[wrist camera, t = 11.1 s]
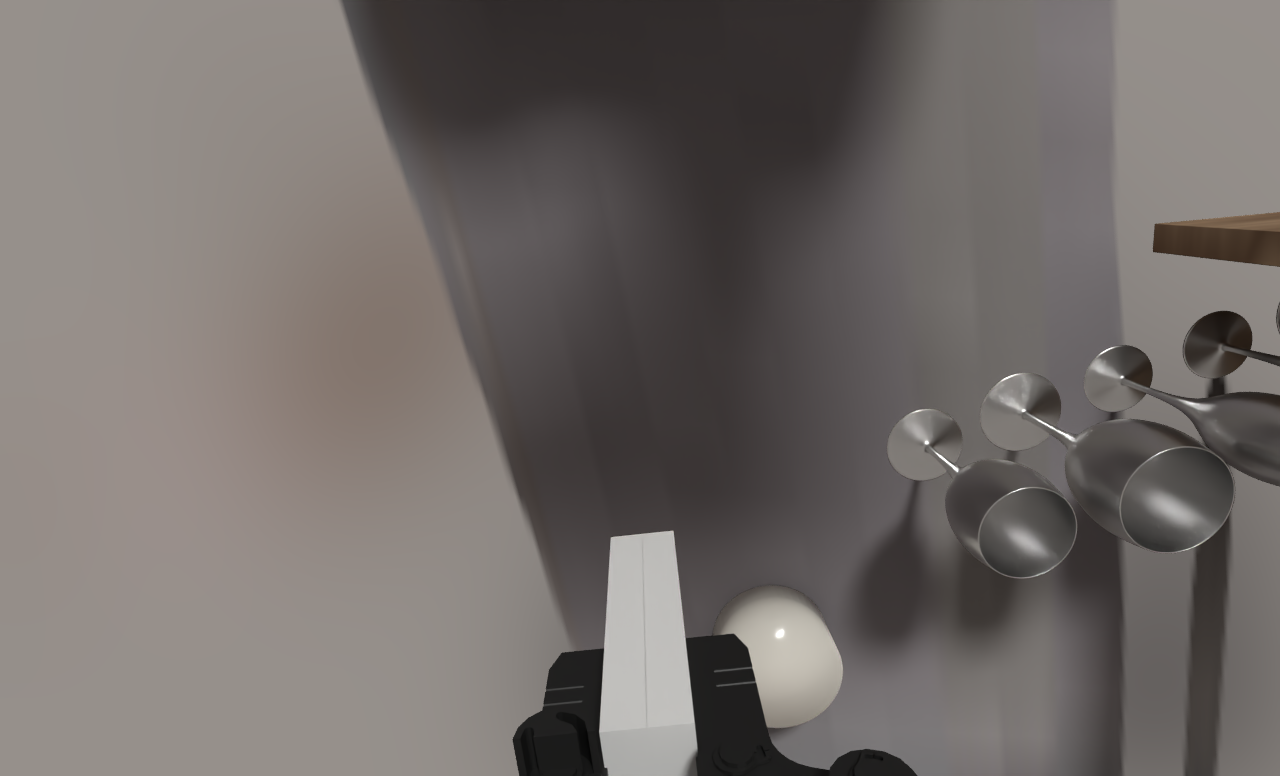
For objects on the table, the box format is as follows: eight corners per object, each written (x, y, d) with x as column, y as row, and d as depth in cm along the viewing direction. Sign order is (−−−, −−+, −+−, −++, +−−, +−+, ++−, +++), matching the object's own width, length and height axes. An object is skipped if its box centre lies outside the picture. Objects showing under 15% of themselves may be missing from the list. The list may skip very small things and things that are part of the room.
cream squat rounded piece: (708, 590, 47) (715, 626, 43) (823, 579, 47) (840, 614, 43) (716, 689, 48) (724, 733, 44) (827, 679, 48) (844, 722, 44)
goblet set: (897, 501, 45) (1004, 623, 32) (871, 413, 44) (972, 505, 31) (1375, 340, 43) (1690, 403, 31) (1363, 243, 42) (1688, 265, 29)
